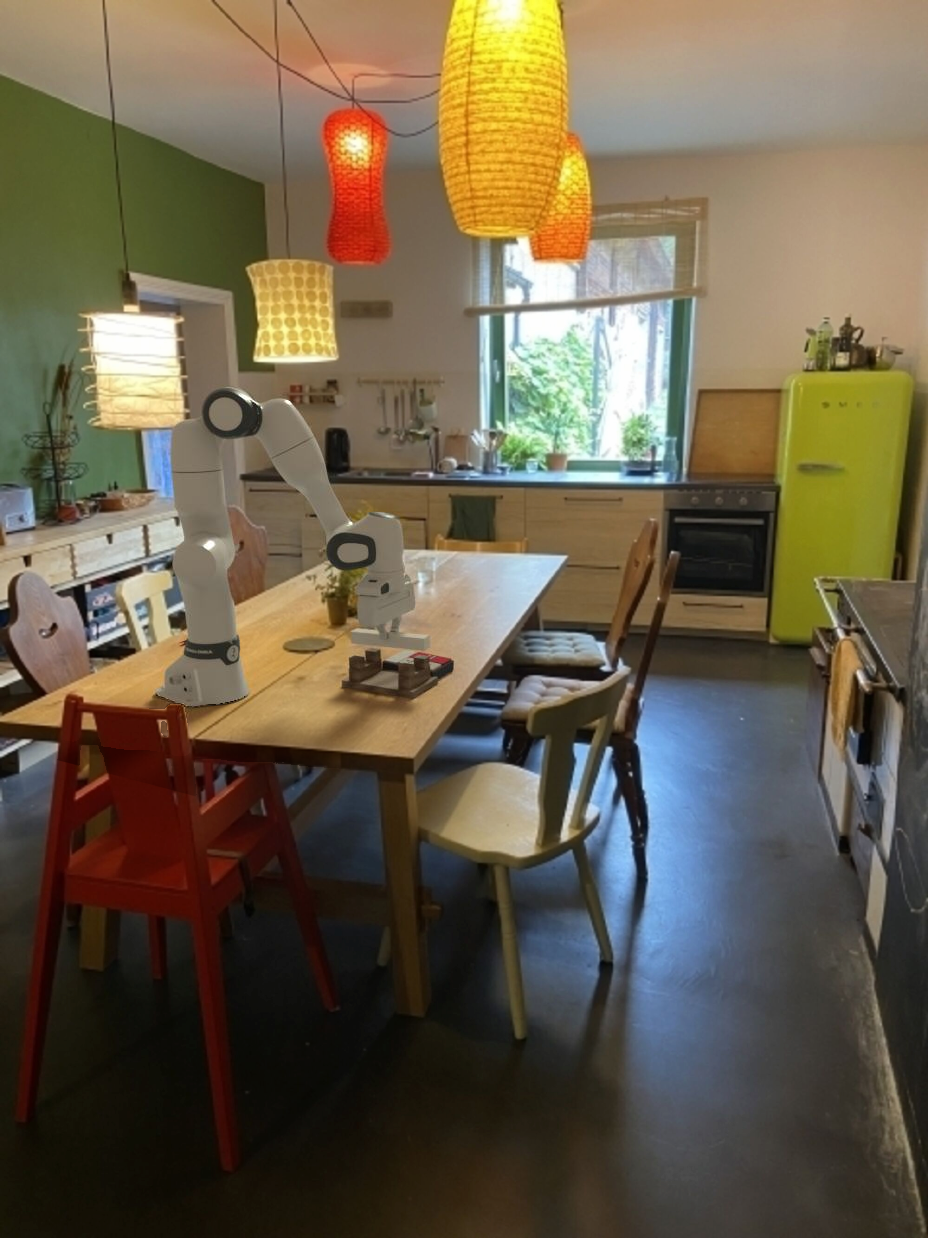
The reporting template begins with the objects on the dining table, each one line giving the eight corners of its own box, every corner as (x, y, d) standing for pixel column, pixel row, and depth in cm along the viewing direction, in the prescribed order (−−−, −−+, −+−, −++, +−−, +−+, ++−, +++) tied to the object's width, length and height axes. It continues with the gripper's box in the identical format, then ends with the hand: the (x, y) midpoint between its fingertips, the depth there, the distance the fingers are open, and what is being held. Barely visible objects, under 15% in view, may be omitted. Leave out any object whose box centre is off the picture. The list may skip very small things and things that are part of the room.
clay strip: (351, 643, 215) (350, 631, 214) (357, 640, 218) (356, 628, 217) (424, 650, 207) (423, 638, 206) (430, 647, 209) (429, 635, 209)
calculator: (433, 669, 215) (381, 658, 222) (432, 686, 216) (381, 674, 223) (454, 657, 224) (404, 647, 231) (454, 673, 226) (404, 662, 232)
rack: (342, 686, 214) (340, 658, 212) (369, 672, 224) (368, 645, 223) (412, 698, 205) (411, 669, 203) (438, 683, 215) (437, 655, 214)
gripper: (398, 571, 218) (400, 625, 222) (351, 588, 201) (354, 646, 205) (420, 573, 216) (422, 627, 219) (374, 590, 198) (377, 649, 202)
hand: (389, 637), depth 212 cm, fingers closed on clay strip, 3 cm apart
